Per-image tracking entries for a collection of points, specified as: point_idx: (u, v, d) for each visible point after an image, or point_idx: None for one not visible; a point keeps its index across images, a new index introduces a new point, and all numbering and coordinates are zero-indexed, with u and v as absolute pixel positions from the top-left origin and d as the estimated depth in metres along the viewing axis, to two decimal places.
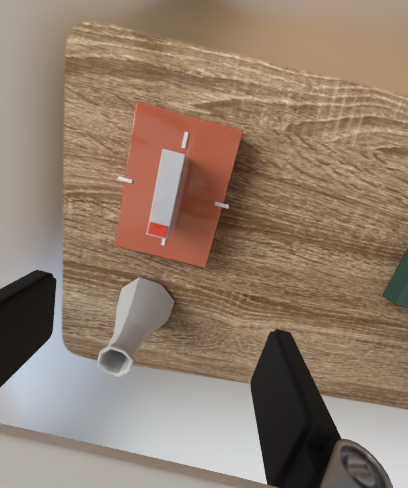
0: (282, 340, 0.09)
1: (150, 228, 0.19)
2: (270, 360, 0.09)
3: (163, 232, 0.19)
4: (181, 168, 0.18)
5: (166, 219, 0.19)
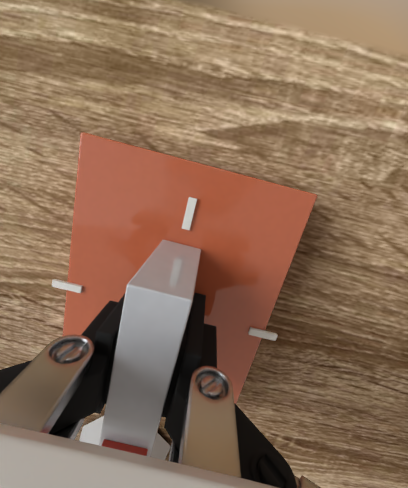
0: (194, 300, 0.10)
1: None
2: None
3: None
4: (182, 332, 0.06)
5: (144, 437, 0.08)
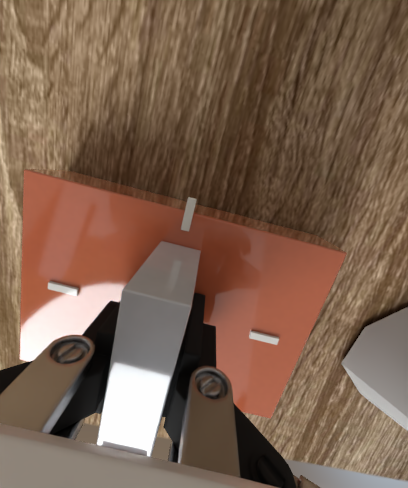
0: (193, 300, 0.10)
1: None
2: None
3: None
4: (180, 338, 0.06)
5: (141, 446, 0.07)
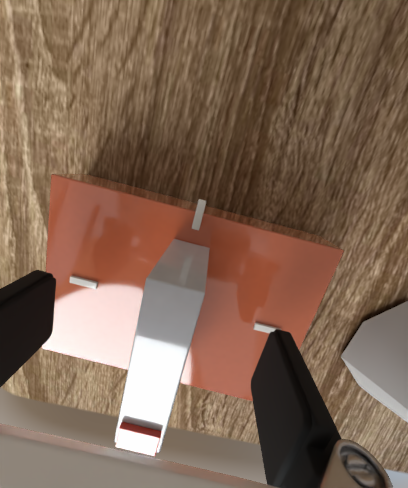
0: (282, 340, 0.09)
1: (121, 439, 0.08)
2: (270, 360, 0.09)
3: (151, 447, 0.08)
4: (194, 321, 0.07)
5: (158, 419, 0.08)
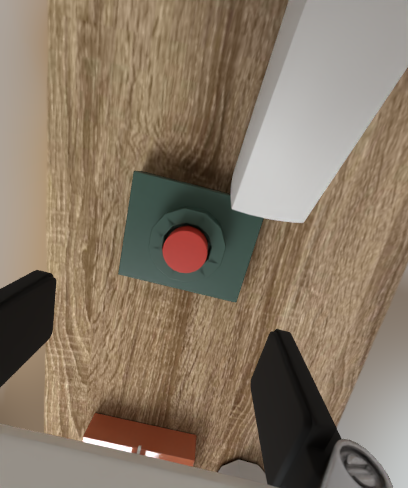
0: (282, 340, 0.09)
1: None
2: (270, 360, 0.09)
3: None
4: None
5: None
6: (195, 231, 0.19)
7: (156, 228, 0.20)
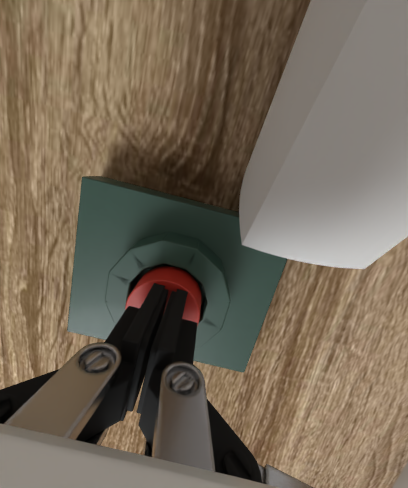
0: (175, 296, 0.10)
1: None
2: None
3: None
4: None
5: None
6: (180, 278, 0.11)
7: (116, 271, 0.12)
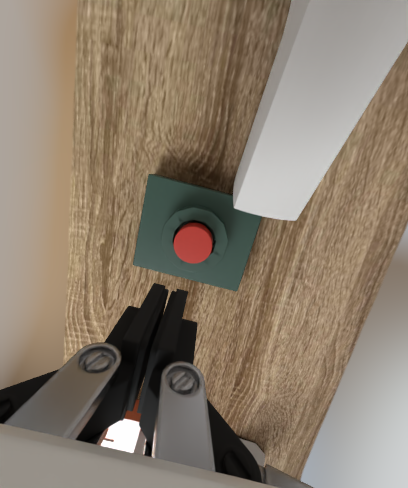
0: (175, 296, 0.10)
1: None
2: None
3: None
4: None
5: None
6: (202, 227, 0.22)
7: (168, 224, 0.22)
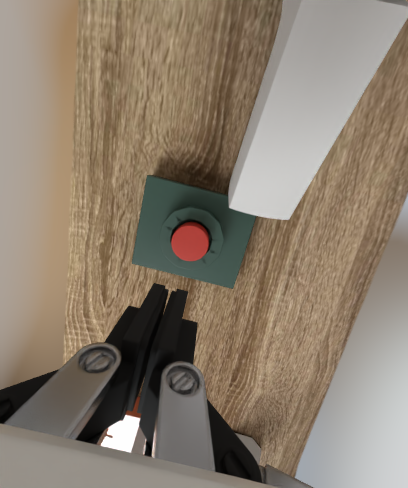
0: (175, 296, 0.10)
1: None
2: None
3: None
4: None
5: None
6: (198, 226, 0.22)
7: (166, 223, 0.23)
